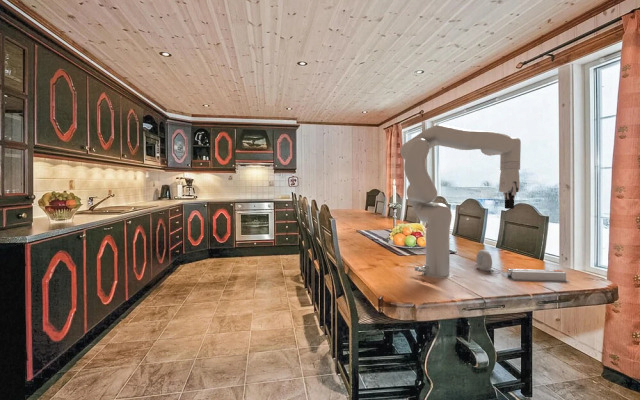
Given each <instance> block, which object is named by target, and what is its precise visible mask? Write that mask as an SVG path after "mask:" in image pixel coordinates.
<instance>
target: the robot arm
mask: <svg viewBox="0 0 640 400" xmlns="http://www.w3.org/2000/svg"><path fill="white" fill-rule="evenodd" d="M521 144H522V143H521V139H520V138H518V137H511V136H509V135H507V134H504V133H500V132H495V131H487V130H486V131H485V130H471V129H469V130H468V129H464V128H460V127H455V126H450V125H446V124H445V125H444V124H435V125H433V126H430V127H428V128H426V129H424V130H423V131H422V132H420V133H418V134H417V135H415V136H414V137H411V139H409V140H407V141H406V142H404V143H403V144H402V146H401V147H400V156H401V158H402V159H403V160H404V166H403V169H404V174H405V176H406V178H407V180H408V182H409V185H408V186H407V188H406V197H407V199H408V202H409V203H410V205H411V207H412V209H413V211H414V213H415V215H416V216H417V218H418V219H419V220H420V221H421V222H422V223H425V224H427V226H426V230H425V263H423V265H422V266H416V265H415V266H414V271H415V272H418V273H421V274H422V275H423V276H425V277H428V278H434V279H446V278H447V279H449V278H452V277H454V274H453V273H452V272H450V232H451V231H450V230H451V224H452V217H453V216H452V211H451V209H450V207H448V205H446V204H445V203H441V202H435V200H436V199H437V198H438V190H437V188H436V186H435V184H434V182H433V180H432V178H431V176H430V175H429V172H428V170H427V168H426V160H427V157H428V154H429V153H430V149H431V148H433V147H437V146H441V147H445V148H446V147H447V148H451V149H455V150H459V151H460V150H461V151H471V150H474V151H475V150H480V152H481V153H482V154H483V155H485V156H498V155H499V156H500V158H499V159H500V160H499V161H500V164H499V167H500V168H499V170H500V175H499V186H498V192H500V193H503V194H502V195H503V197H504V209H507V210H508V209H510V210H511V209H512V210H513V209H515V197H516V196H517V193H518V192H519V191H520V170H521V147H522V146H521Z"/></svg>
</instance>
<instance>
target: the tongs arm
mask: <svg viewBox="0 0 640 400" xmlns="http://www.w3.org/2000/svg"><path fill="white" fill-rule="evenodd" d="M506 271H507V272H506V273H507V277H512V271H544V272H564V270H561V269H534V268H533V269H530V268H528V269H526V268H507V269H506ZM507 277H506V278H507Z"/></svg>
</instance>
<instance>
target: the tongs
mask: <svg viewBox="0 0 640 400" xmlns="http://www.w3.org/2000/svg"><path fill="white" fill-rule="evenodd" d="M499 274H501V276H503V277H505V278H507V279H509V280H510V281H511V282H514V281H515V282H516V281H517V282H540V283H541V282H545V283H546V282H548V283H549V282H550V283H570V281H569V280H567V272H564V271H563V272H544V271H512V277H507V272H500V271H499Z"/></svg>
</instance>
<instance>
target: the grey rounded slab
mask: <svg viewBox="0 0 640 400" xmlns="http://www.w3.org/2000/svg"><path fill="white" fill-rule="evenodd" d="M475 259H476V260H475V261H476V265H477V268H478V269H479V270H480V271H483V272H489V271H490V270H491V269H492V267H493V258H492V255H491V253H490V252H489V251H488V250H487V249H480V250H479V251H478V252H477V253H476V258H475Z"/></svg>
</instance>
